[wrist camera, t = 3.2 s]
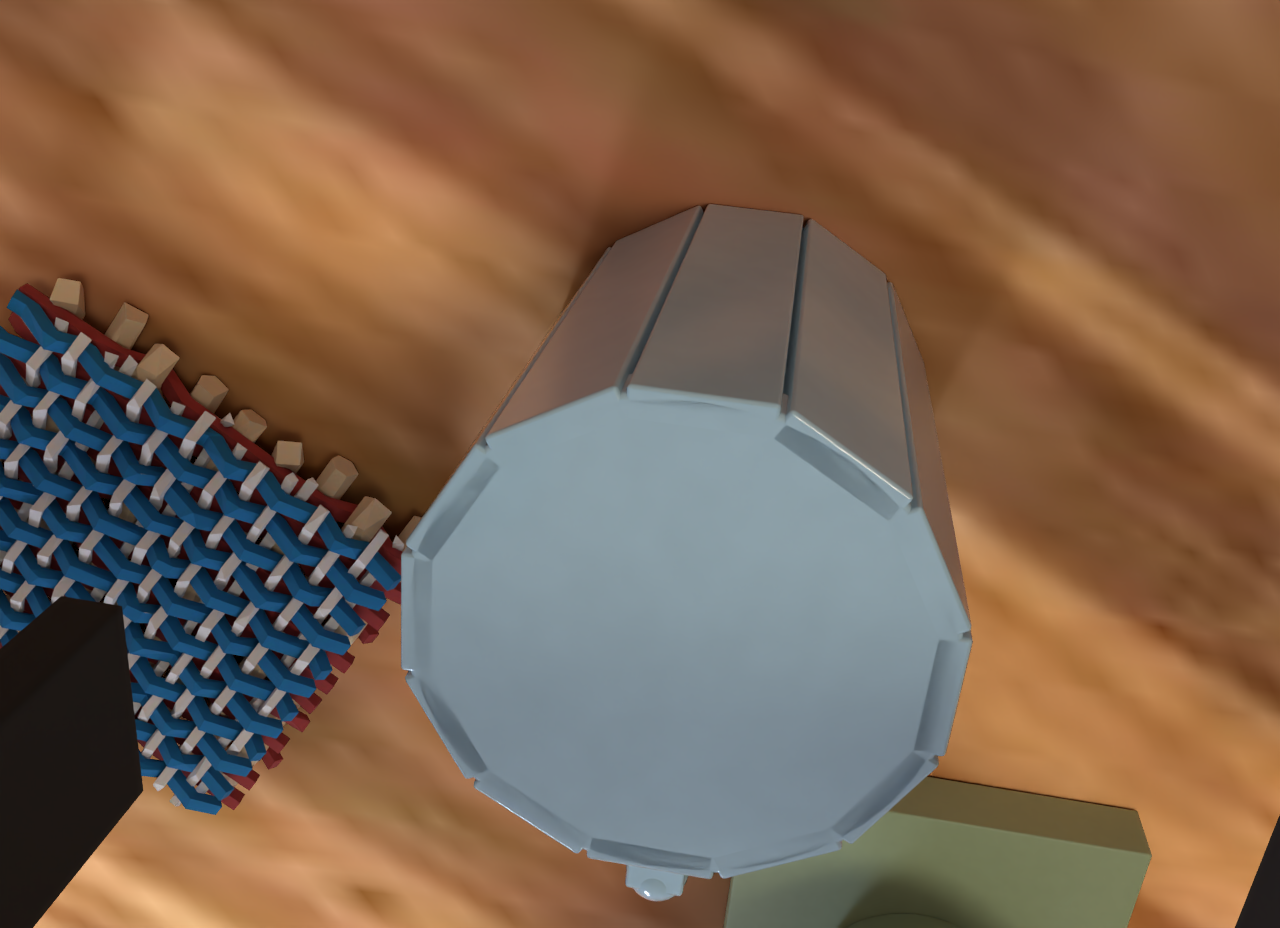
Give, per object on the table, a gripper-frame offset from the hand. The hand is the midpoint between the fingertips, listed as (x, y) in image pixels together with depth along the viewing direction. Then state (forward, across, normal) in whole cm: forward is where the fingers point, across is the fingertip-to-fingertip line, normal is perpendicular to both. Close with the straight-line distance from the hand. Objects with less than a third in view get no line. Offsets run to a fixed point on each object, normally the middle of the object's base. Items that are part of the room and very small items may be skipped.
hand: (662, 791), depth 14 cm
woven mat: (+13, -13, -6) cm, 19 cm away
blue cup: (+13, 0, -1) cm, 13 cm away
